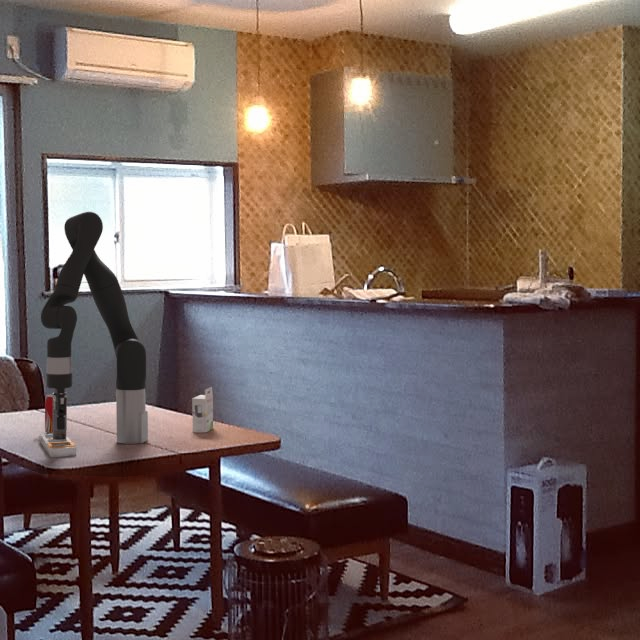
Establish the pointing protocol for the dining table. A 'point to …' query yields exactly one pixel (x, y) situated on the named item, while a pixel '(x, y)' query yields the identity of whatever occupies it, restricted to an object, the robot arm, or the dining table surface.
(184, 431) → the dining table surface
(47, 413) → the soda can
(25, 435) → the dining table surface
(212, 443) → the dining table surface
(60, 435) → the steel pin
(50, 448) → the white compartment tray
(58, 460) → the dining table surface
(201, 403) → the ink box
